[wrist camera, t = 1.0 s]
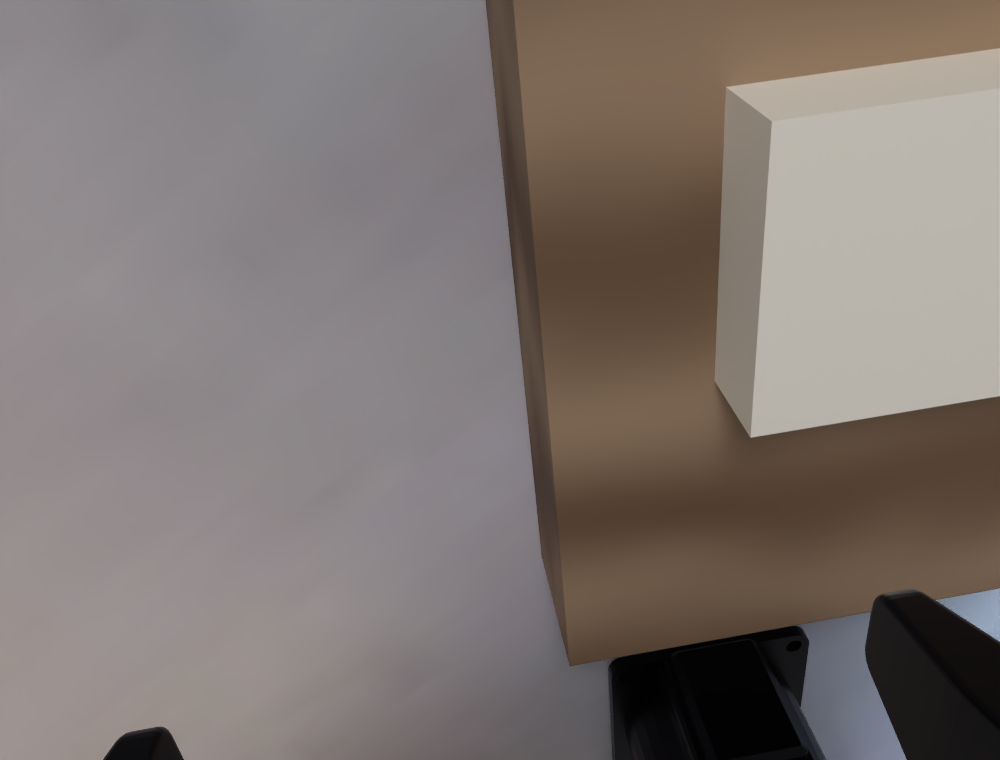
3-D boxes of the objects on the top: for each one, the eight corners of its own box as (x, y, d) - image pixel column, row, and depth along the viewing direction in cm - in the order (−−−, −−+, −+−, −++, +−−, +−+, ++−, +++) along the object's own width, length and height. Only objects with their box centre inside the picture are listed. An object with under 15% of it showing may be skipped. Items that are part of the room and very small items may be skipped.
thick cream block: (1125, 314, 19) (1200, 362, 17) (714, 380, 19) (750, 437, 17) (1222, 16, 16) (1325, 41, 14) (725, 87, 15) (771, 121, 14)
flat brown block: (1001, 476, 27) (1093, 571, 24) (541, 555, 26) (569, 666, 23) (1275, -551, 15) (1542, -655, 12) (439, -469, 14) (465, -554, 11)
